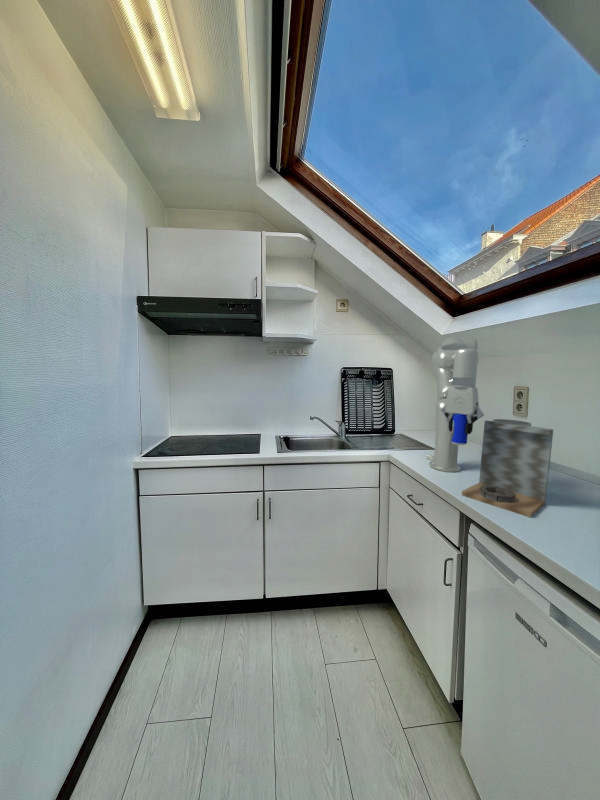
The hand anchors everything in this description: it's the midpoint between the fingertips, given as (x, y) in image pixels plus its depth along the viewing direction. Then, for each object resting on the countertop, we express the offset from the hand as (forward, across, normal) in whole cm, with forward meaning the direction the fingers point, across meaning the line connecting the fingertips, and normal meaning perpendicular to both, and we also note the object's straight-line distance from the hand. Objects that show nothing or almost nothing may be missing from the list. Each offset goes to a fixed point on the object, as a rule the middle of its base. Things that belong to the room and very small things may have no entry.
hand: (459, 431), depth 111 cm
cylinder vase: (+22, +9, +22) cm, 32 cm away
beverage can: (+5, 0, 0) cm, 5 cm away
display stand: (+22, +14, +4) cm, 26 cm away
